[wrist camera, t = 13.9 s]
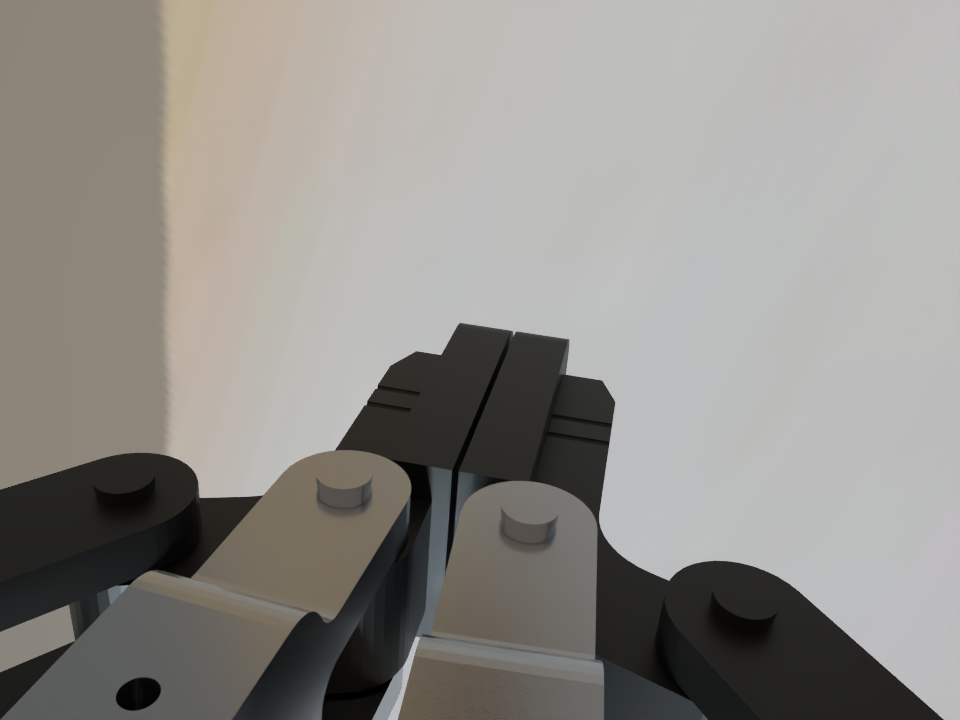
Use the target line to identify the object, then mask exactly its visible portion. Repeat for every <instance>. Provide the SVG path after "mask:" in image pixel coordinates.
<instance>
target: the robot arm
mask: <svg viewBox="0 0 960 720" xmlns="http://www.w3.org/2000/svg"><path fill="white" fill-rule="evenodd" d="M568 352H569V339H562V338H556V337H549V336H543V335H536V334H529V333H523V332H516V333H515V335H514V337H513V331H509V330H502V329H496V328H489V327H483V326H476V325H470V324H463V323H460V324H459V325H458V326H457V328H456V330H455V332H454V333H453V335H452V337H451V339H450V341H449V342H448V344H447V346H446V348H445V350H444V351H443V353H442V355H436V354H430V353H424V352H417V351H416V352H414V353H413V354H411V355H409V356H407V357H406V358H404V359H402V360H400V361H398V362H397V363H395V364H393V365H391V366H390V368H389V369H388V371H387V372H386V374H385V375H384V377H383V378H382V380H381V381H380V383H379V384H378V388H377V389H375V390H374V392H373V394H372V395H371V397H370V398H369V400H368V401H367V406H366V405H365V406H364V407H363V409H362V410H361V412H360V413H359V415H358V416H357V418H356V419H355V421H354V422H353V424H352V426H351V427H350V429H349V430H348V432H347V433H346V435H345V436H344V438H343V439H342V441H341V442H340V444H339V445H338V447H337V448H336V450H335V451H328V452H323V453H319V454H315V455H312V456H309V457H306V458H304V459H302V460H300V461H298V462H296V463H295V464H293V465H292V466H290V467H289V468H288V469H287V470H286V471H285V472H284V473H283V474H282V475H281V476H280V477H279V478H278V480H277V481H276V482H275V483H274V484H273V485H272V486H271V488H270V489H269V490H268V491H267V492H266V493H265V494H264V495H263V496H253V497H227V498H199V487H198V480H197V477H196V474H195V473H194V471H193V470H192V469H191V468H190V467H189V466H188V465H187V464H185V463H183V462H182V461H180V460H178V459H175V458H172V457H169V456H165V455H160V454H152V453H129V454H121V455H115V456H110V457H106V458H102V459H99V460H96V461H92V462H89V463H86V464H83V465H79V466H77V467H73V468H70V469H66V470H63V471H60V472H57V473H53V474H50V475H47V476H44V477H40V478H37V479H34V480H31V481H28V482H24V483H21V484H18V485H15V486H11V487H8V488H5V489H1V490H0V632H1V631H3V630H6V629H8V628H11V627H13V626H16V625H18V624H21V623H23V622H26V621H28V620H31V619H33V618H36V617H39V616H41V615H43V614H46V613H49V612H51V611H54V610H56V609H59V608H61V607H64V606H66V605H69V607H70V613H71V619H72V624H73V630H74V636H75V641H74V642H72V643H69V644H67V645H65V646H62V647H60V648H58V649H55V650H53V651H50V652H48V653H46V654H43V655H41V656H38V657H36V658H34V659H31V660H29V661H26V662H24V663H22V664H19V665H17V666H15V667H12V668H10V669H8V670H5V671H3V672H0V720H388V718H389V715H390V713H391V711H392V709H393V707H394V705H395V703H396V701H397V699H398V696H399V694H400V691H401V688H402V679H403V665H404V664H405V662H406V660H407V658H408V655H409V652H410V650H411V647H412V644H413V642H414V639H415V636H417V637H421V638H420V640H419V643H418V646H417V649H416V652H415V656H414V660H413V663H412V667H411V671H410V675H409V679H408V683H407V687H406V690H405V694H404V698H403V702H402V706H401V710H400V713H399V717H398V720H943V719H942V718H941V717H940V716H939V715H938V714H937V713H935V712H934V711H933V710H932V709H931V708H930V707H929V706H928V705H926V704H925V703H924V702H923V701H922V700H921V699H920V698H919V697H917V696H916V695H915V694H914V693H913V692H912V691H911V690H909V689H908V688H907V687H906V686H905V685H904V684H903V683H902V682H900V681H899V680H898V679H897V678H896V677H895V676H894V675H893V674H891V673H890V672H889V671H888V670H887V669H886V668H885V667H883V666H882V665H881V664H880V663H879V662H878V661H877V660H876V659H874V658H873V657H872V656H871V655H870V654H869V653H868V652H866V651H865V650H864V649H863V648H862V647H861V646H860V645H859V644H857V643H856V642H855V641H854V640H853V639H852V638H851V637H850V636H848V635H847V634H846V633H845V632H844V631H843V630H842V629H840V628H839V627H838V626H837V625H836V624H835V623H834V622H833V621H831V620H830V619H829V618H828V617H827V616H826V615H825V614H824V613H822V612H821V611H820V610H819V609H818V608H817V607H816V606H814V605H813V604H812V603H811V602H810V601H809V600H808V599H807V598H805V597H804V596H803V595H802V594H801V593H800V592H799V591H797V590H796V589H795V588H794V587H792V586H791V585H790V584H788V583H787V582H785V581H783V580H782V579H780V578H779V577H777V576H775V575H773V574H770V573H768V572H766V571H764V570H761V569H758V568H756V567H753V566H749V565H745V564H741V563H735V562H728V561H708V562H701V563H696V564H693V565H690V566H688V567H685V568H683V569H682V570H680V571H679V572H677V573H676V574H675V575H674V576H673V577H672V578H671V579H670V581H668V580H666V579H663V578H661V577H659V576H656V575H654V574H651V573H649V572H647V571H645V570H643V569H641V568H639V567H637V566H636V565H634V564H632V563H631V562H629V561H627V560H626V559H625V558H624V557H622V556H621V555H620V554H619V553H617V552H616V550H615V549H614V548H613V547H612V546H611V545H610V544H609V543H608V541H607V540H606V538H605V537H604V535H603V533H602V531H601V528H600V524H599V511H600V504H601V497H602V490H603V483H604V476H605V469H606V462H607V455H608V448H609V442H610V435H611V427H612V421H613V414H614V407H615V401H614V399H613V398H612V396H611V394H610V393H609V391H608V390H607V388H606V386H605V385H604V383H603V381H601V380H594V379H588V378H582V377H576V376H569V375H566V368H567V360H568Z"/></svg>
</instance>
